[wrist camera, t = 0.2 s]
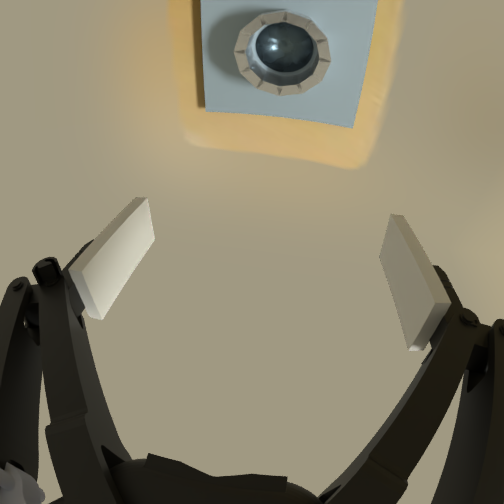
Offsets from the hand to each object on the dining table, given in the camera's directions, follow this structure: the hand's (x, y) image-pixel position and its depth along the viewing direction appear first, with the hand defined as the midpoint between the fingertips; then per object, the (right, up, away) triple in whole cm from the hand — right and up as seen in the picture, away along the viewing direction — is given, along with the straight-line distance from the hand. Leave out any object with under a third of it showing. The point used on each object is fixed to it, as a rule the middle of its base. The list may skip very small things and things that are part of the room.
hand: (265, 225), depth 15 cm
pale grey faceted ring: (+3, +23, +13) cm, 26 cm away
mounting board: (+3, +24, +14) cm, 28 cm away
